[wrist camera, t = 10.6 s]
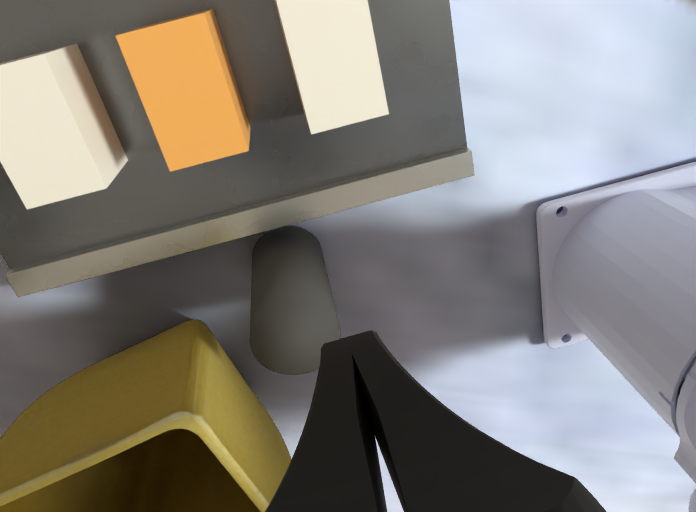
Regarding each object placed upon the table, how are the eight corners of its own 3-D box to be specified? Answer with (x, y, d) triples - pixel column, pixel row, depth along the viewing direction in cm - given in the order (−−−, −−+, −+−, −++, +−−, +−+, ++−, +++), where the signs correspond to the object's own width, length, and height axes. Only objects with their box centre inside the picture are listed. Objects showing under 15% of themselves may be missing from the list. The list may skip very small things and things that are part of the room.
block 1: (77, 43, 17) (43, 54, 15) (128, 160, 19) (106, 188, 16) (0, 62, 17) (-47, 77, 15) (59, 178, 19) (27, 209, 16)
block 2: (212, 8, 17) (204, 12, 15) (250, 128, 19) (248, 151, 17) (137, 27, 17) (115, 35, 15) (182, 146, 19) (170, 171, 17)
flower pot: (216, 262, 23) (191, 411, 15) (304, 400, 27) (322, 575, 19) (35, 346, 23) (-82, 532, 15) (148, 468, 27) (102, 666, 19)
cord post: (312, 217, 22) (328, 289, 17) (329, 277, 24) (348, 361, 19) (243, 236, 22) (237, 314, 17) (264, 295, 24) (264, 384, 18)
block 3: (347, -26, 18) (362, -28, 15) (371, 96, 19) (388, 113, 17) (272, -7, 17) (274, -6, 15) (304, 113, 19) (311, 134, 17)
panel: (413, -193, 17) (428, -210, 15) (460, 166, 22) (474, 180, 21) (-156, -50, 16) (-199, -54, 15) (37, 279, 22) (20, 301, 20)
